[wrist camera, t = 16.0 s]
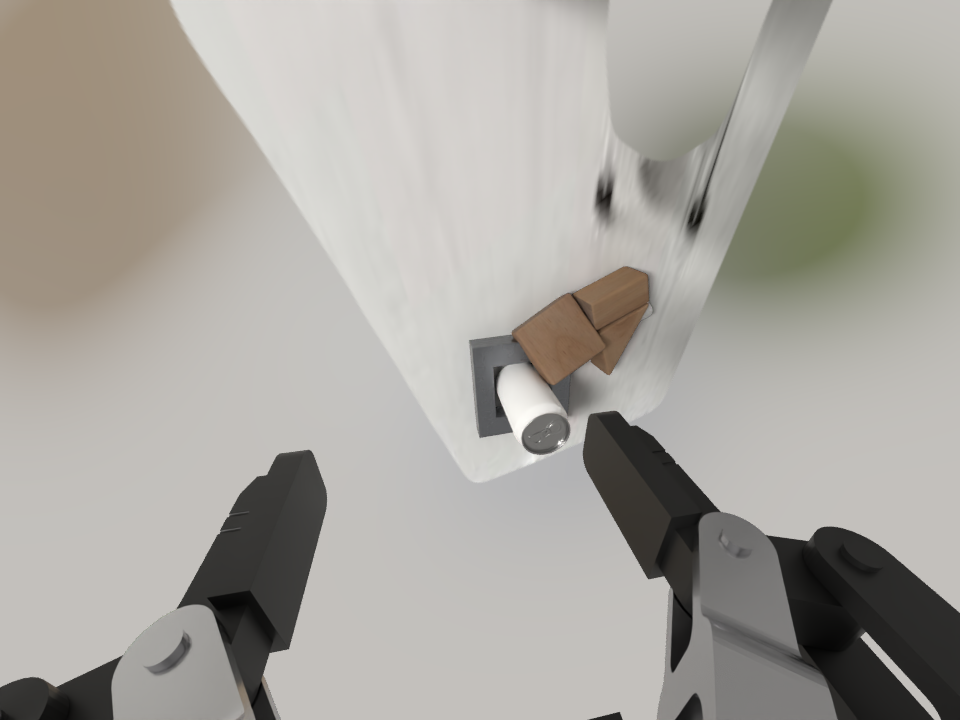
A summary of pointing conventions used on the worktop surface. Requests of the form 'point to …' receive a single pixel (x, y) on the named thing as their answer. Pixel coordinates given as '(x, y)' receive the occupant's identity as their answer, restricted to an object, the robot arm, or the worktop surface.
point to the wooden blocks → (586, 325)
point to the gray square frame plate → (482, 362)
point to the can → (532, 409)
